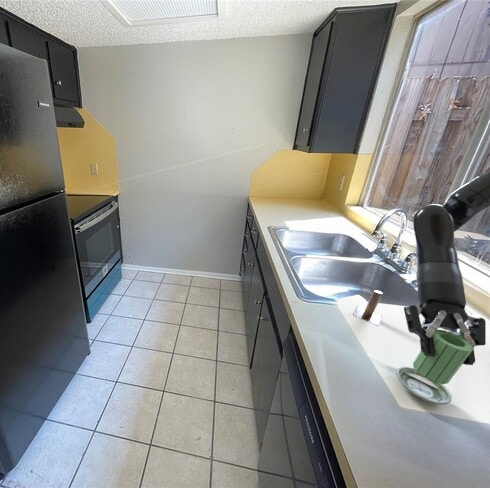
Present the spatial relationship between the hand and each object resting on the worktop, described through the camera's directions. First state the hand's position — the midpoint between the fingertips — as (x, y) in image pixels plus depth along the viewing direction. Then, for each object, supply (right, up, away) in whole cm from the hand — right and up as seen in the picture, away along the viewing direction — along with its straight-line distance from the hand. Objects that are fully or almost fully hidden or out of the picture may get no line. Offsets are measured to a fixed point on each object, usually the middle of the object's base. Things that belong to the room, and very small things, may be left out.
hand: (448, 359), depth 55 cm
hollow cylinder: (0, -5, +4) cm, 6 cm away
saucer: (0, -10, +6) cm, 12 cm away
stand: (+5, 0, +30) cm, 30 cm away
